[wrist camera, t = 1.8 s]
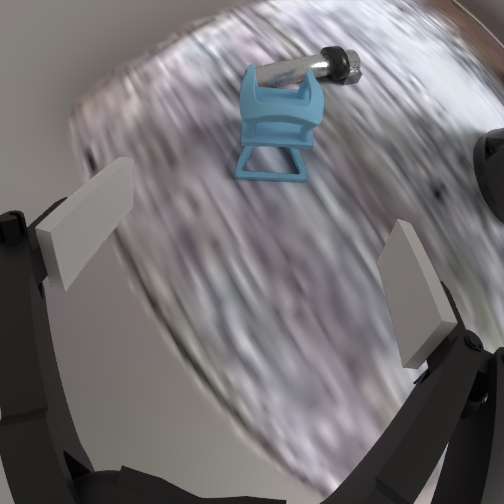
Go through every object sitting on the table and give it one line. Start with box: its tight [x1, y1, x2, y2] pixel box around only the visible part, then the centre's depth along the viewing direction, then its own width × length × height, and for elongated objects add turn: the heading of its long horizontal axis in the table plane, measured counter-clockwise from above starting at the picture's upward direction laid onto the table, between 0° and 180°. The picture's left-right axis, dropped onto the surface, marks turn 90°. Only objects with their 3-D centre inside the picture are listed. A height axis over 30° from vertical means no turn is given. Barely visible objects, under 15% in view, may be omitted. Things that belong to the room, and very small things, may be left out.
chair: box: [235, 65, 324, 182], centre depth 28 cm, size 8×8×12 cm
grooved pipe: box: [245, 46, 362, 88], centre depth 33 cm, size 14×5×5 cm, turn 112°
